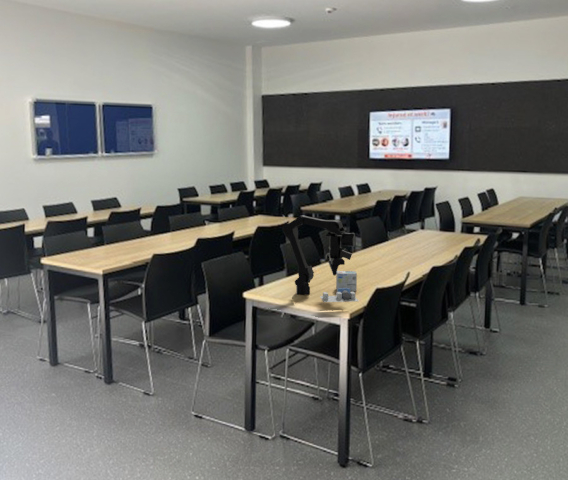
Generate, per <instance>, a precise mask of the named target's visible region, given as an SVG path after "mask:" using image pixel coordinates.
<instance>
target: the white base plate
mask: <svg viewBox="0 0 568 480" xmlns="http://www.w3.org/2000/svg"><path fill="white" fill-rule="evenodd" d="M344 290H346V291H347V292H348V293H349V294H350V295H351V298H350V299H349V300H345V299H344V297H343V296H342V291H344ZM319 297H320V299H321V300H322V302H324V303H339V302H340V303H342V302H343V303H344V302H348V303H349V302H350V303H351V302H359V299H358V298H357V297H356V292H355V291H350V288H338V291H336V294H335V295H329V293H328V292H327V291H325V292H324V291H323V292H322V295H319Z"/></svg>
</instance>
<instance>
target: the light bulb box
mask: <svg viewBox="0 0 568 480" xmlns="http://www.w3.org/2000/svg"><path fill="white" fill-rule="evenodd" d="M335 276H336V277H335V278H336V279H335V280H336V281H335V283H336V285H335V286H336V289H335V290H336V292H338V288H350V292H357V280H358V279H357V278H358V274H357V272H356V271H355V270H353V271H352V270H346V271H345V270H340V271H339V270H337V273H336V275H335Z"/></svg>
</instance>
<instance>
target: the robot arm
mask: <svg viewBox="0 0 568 480" xmlns="http://www.w3.org/2000/svg"><path fill="white" fill-rule="evenodd" d="M302 225H308V226H312V227H317V228H322V229H324V230H326V231H328V233H326V234H325V237H329V246H328V249H329V252H327V253H326V254H325V260H327V262H328V265H329V268H330V270H331V273H332V275H333V276H336V273H337V271H338V268H339V266H344V265H345V260H344V259H343V258H345V259H347V260H351V258H352V256H353V254H352V252H349V250H348V249H347V248H343V247H342V246H344V247H350V248H351V247H352V248H353V247H354V248H355V246H356V244H357V238H356V233H355V232H347V231H346V230H345V228H344V226H343V223H342V221H341V220H339V219H321V218H318V217H312V216H307V215H299V216H298V217H297V218H295V219H294V220H292V221H290V222H287V223H285V224H284V225H283V226H282V232H283V234H284V235H285V237H286V239H287V240H288V242H290V246H291V249H292V252H293V255H294V258H295V260H296V264H297V269H298V270H297V275H298V277H297V279H295V280H294V284H295V286H296V288H295V289H296V290H295V291H296V292H295V293H296V295H300V296H306V295H310V294H311V287H310V282H311V281H312V279H313V278H314V277H315V276H314V274H315V271H314V270H313V266H312V265H309V264H308V263H307V261H306V258H305V255H304V252H303V248H302V246H301V243H300V239H299V229H298V228H300V227H301V226H302ZM328 259H329V260H328Z"/></svg>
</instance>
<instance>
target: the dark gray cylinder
mask: <svg viewBox="0 0 568 480" xmlns="http://www.w3.org/2000/svg"><path fill="white" fill-rule="evenodd" d="M342 296H343V297H344V299H345V300H349V299H350V298H351V295H350V294H349V293H348V292H347V291H346V290H344V291H342Z"/></svg>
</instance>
